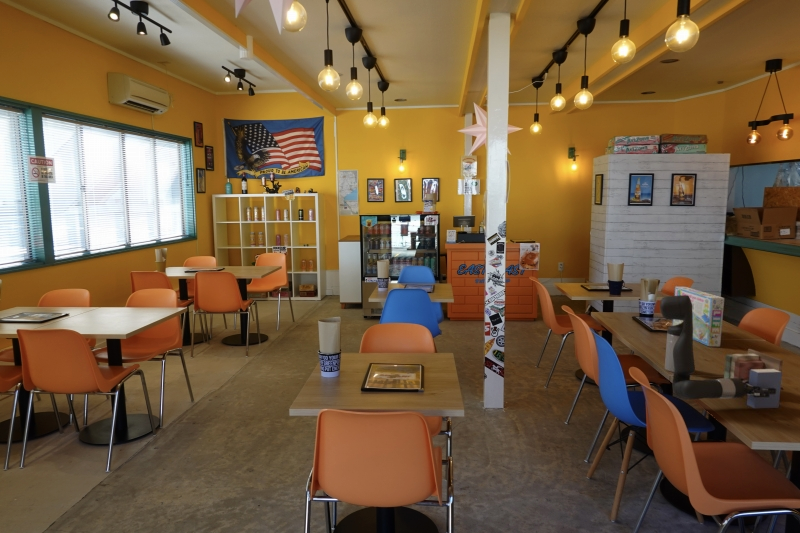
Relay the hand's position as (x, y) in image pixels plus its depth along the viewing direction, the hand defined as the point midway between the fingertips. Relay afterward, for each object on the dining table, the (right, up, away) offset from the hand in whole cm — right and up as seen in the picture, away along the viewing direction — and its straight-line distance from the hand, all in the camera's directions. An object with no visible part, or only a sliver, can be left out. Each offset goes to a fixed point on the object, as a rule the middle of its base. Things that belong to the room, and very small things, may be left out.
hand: (766, 387), depth 203 cm
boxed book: (-1, -8, +1) cm, 8 cm away
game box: (+31, +5, +105) cm, 109 cm away
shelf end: (+4, -6, +15) cm, 16 cm away
